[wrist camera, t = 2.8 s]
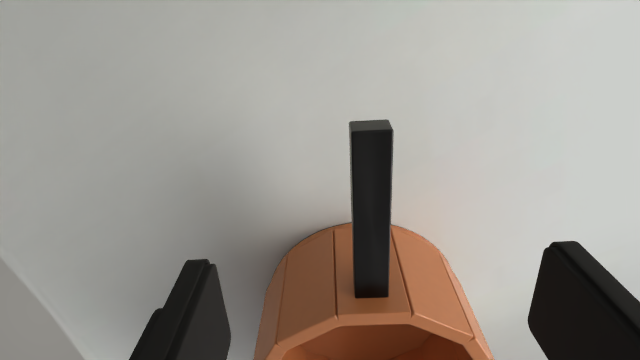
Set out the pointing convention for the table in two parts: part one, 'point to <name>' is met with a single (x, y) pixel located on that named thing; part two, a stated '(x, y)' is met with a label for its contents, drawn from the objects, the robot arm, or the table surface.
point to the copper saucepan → (368, 282)
